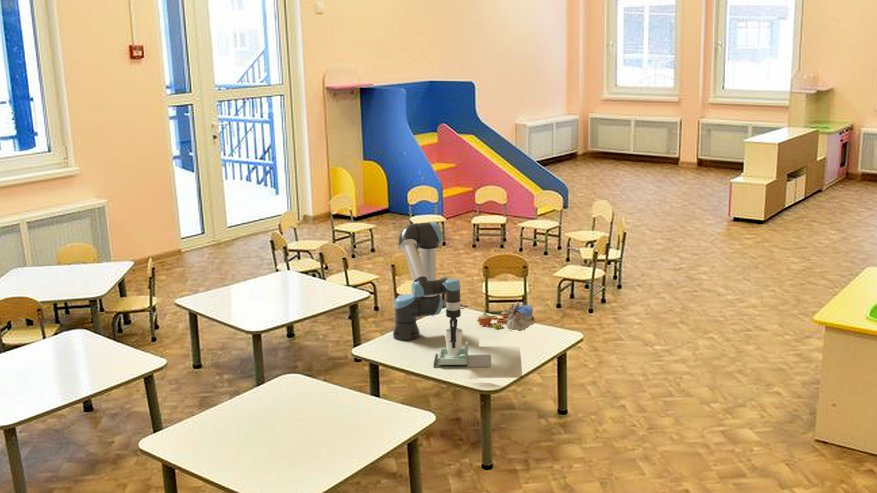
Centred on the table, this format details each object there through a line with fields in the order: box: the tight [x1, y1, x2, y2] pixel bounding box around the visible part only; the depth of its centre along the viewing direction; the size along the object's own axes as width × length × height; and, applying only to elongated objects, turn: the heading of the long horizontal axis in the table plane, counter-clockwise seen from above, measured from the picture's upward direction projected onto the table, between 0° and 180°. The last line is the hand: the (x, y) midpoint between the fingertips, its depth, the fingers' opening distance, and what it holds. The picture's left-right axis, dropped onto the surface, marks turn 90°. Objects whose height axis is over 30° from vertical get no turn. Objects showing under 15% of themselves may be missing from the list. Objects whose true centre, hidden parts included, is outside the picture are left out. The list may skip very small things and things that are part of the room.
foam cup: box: [443, 327, 464, 356], centre depth 449 cm, size 10×9×13 cm
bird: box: [442, 299, 469, 309], centre depth 537 cm, size 18×8×10 cm, turn 71°
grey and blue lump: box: [505, 301, 536, 331], centre depth 505 cm, size 26×16×16 cm, turn 152°
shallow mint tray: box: [437, 340, 469, 366], centre depth 450 cm, size 17×15×7 cm
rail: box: [432, 353, 491, 369], centre depth 451 cm, size 18×29×1 cm, turn 86°
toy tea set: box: [476, 308, 510, 329], centre depth 511 cm, size 26×16×10 cm, turn 155°
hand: (454, 350), depth 450 cm, fingers closed on foam cup, 9 cm apart
